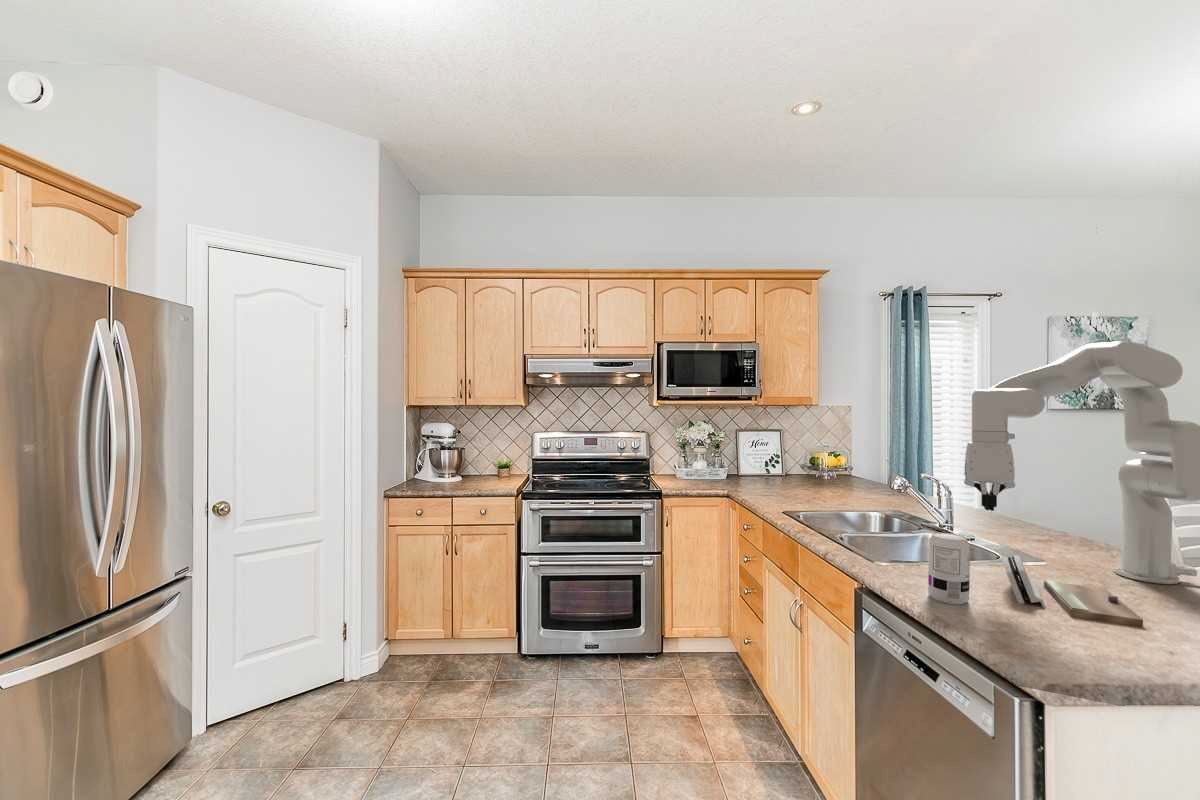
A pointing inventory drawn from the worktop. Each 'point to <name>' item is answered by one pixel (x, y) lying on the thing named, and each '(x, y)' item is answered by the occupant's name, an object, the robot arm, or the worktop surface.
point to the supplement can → (949, 568)
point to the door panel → (1092, 603)
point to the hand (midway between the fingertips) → (989, 509)
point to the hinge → (1021, 581)
